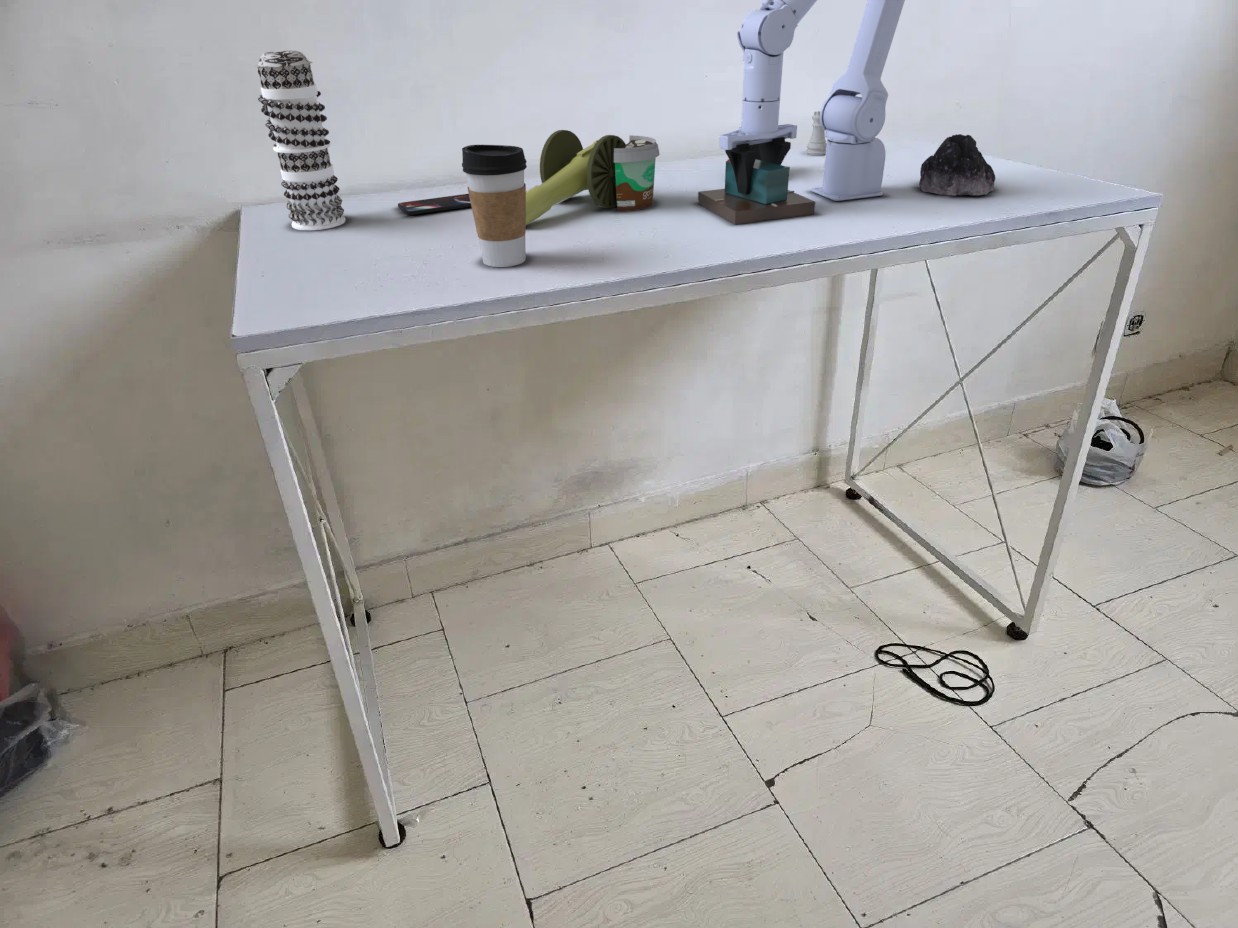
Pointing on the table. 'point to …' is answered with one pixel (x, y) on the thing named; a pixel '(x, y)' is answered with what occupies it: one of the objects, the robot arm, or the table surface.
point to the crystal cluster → (957, 169)
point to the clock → (754, 207)
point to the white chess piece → (817, 137)
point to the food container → (635, 173)
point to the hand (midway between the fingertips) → (755, 190)
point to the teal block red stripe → (761, 182)
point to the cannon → (574, 173)
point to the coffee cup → (498, 201)
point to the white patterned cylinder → (299, 140)
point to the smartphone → (435, 204)
